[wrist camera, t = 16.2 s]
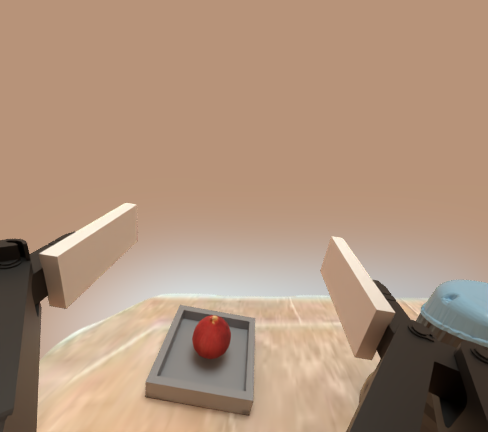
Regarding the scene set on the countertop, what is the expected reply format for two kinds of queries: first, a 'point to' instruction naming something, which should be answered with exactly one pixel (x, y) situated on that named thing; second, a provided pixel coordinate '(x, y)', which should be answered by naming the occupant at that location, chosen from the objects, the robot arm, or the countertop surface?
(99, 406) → the countertop surface
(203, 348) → the onion
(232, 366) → the bin
